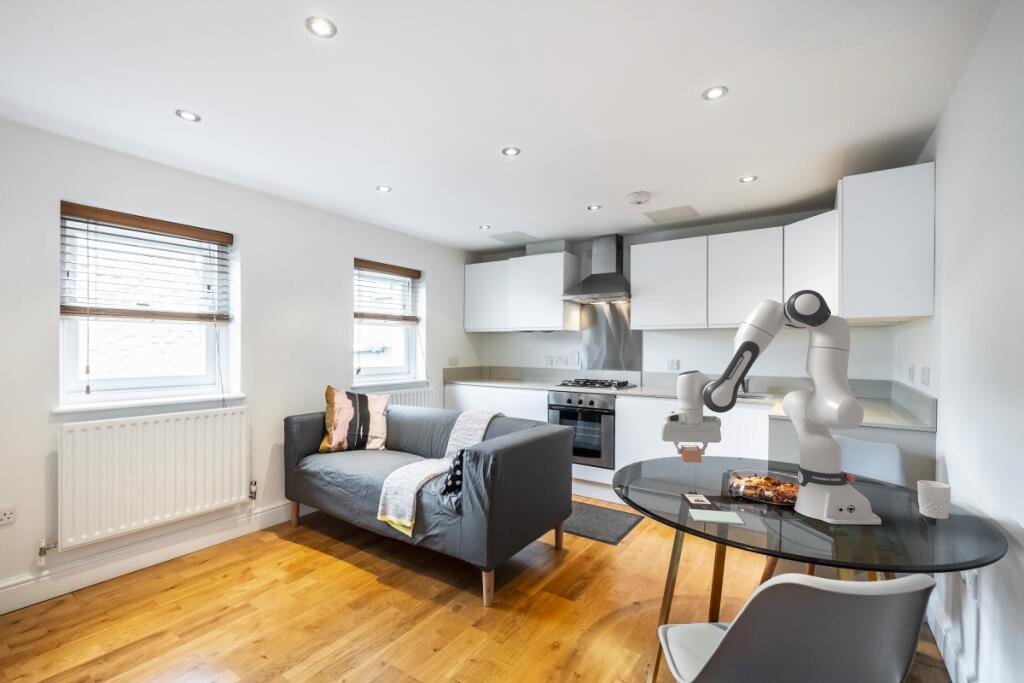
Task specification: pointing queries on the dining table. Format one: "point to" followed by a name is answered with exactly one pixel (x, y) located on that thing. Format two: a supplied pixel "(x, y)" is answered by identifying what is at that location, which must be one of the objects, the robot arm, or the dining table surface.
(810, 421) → the robot arm
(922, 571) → the dining table surface
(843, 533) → the dining table surface
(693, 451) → the deck
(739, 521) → the mat
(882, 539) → the dining table surface
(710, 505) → the chocolate bar
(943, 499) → the white cup
